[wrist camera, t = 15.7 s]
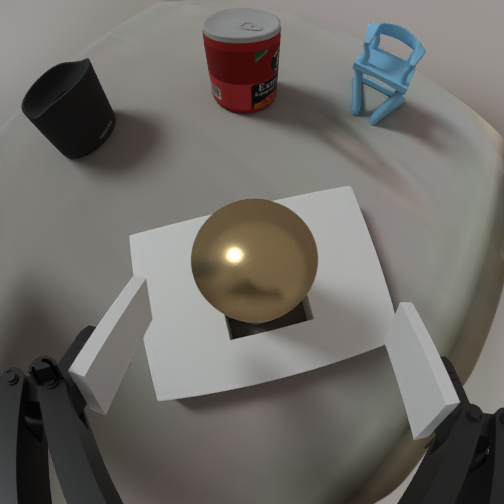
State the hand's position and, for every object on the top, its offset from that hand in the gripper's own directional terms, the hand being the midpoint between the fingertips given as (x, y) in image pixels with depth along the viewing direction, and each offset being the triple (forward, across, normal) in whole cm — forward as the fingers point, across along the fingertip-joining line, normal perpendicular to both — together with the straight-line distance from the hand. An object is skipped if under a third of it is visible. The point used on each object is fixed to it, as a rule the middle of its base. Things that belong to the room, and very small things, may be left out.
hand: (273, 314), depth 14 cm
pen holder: (+22, -25, +7) cm, 34 cm away
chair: (+27, +12, +12) cm, 32 cm away
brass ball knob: (+9, -1, -6) cm, 11 cm away
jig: (+9, -1, -6) cm, 11 cm away
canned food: (+26, -5, +11) cm, 29 cm away
